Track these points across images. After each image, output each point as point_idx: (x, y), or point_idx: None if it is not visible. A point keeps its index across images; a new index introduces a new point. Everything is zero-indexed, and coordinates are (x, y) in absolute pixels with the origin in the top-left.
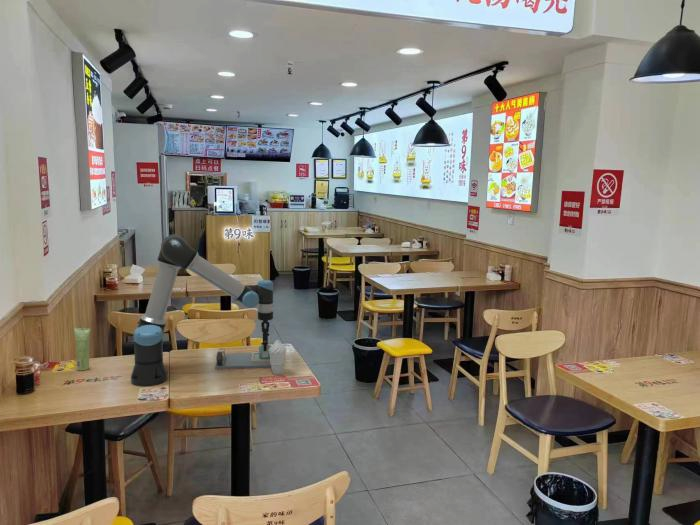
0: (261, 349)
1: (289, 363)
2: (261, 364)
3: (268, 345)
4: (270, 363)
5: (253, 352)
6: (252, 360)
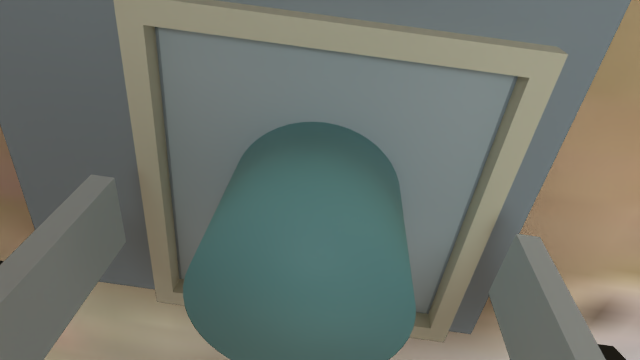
0: (211, 234)
1: (188, 339)
2: (41, 118)
3: (372, 356)
4: None
5: (551, 71)
6: (121, 10)
